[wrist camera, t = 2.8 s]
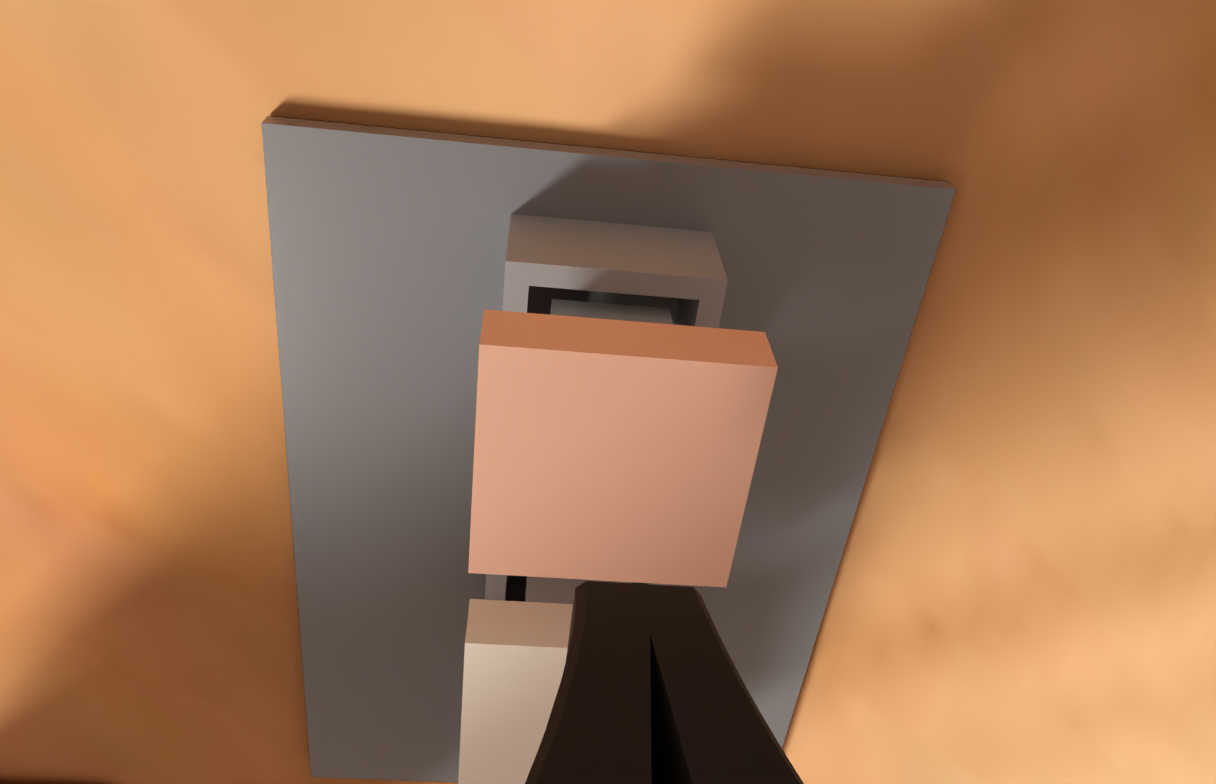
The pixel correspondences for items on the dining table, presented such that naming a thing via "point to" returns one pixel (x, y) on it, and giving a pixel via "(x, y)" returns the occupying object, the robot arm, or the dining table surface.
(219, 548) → the dining table surface
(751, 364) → the key terracotta
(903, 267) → the keypad base
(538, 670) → the key cream
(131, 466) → the dining table surface
